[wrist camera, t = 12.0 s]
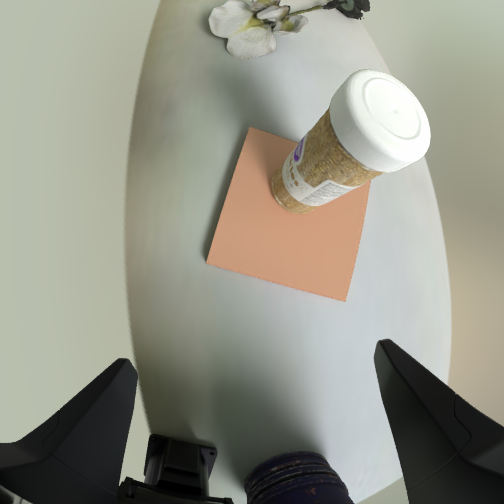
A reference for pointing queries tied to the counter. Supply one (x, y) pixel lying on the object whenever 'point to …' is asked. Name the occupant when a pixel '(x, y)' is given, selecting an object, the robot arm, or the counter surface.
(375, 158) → the sprinkles bottle
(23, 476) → the robot arm
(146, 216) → the counter surface
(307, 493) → the storage jar
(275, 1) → the artificial flower
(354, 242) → the terracotta tile
